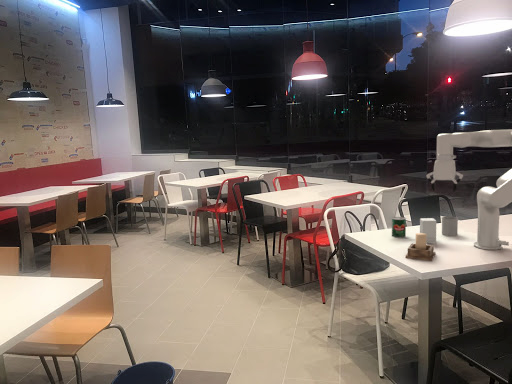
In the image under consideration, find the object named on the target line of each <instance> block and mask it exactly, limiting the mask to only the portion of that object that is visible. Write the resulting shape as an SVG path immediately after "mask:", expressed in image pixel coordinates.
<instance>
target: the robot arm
mask: <svg viewBox="0 0 512 384" xmlns="http://www.w3.org/2000/svg"><path fill="white" fill-rule="evenodd" d="M467 147H479V148H500V147H503V148H504V147H506V148H507V147H512V129H510V128H509V129H491V130H490V129H489V130H480V131H468V132H467V131H465V132H463V131H462V132H453V133H439V134H438V135H437V136H436V160H435V161H434V165H433V171H432V172H429V173H428V174H426V178H427V180H428V182H430V183H431V190H432V192H435V191H436V181H452V182H453V187H452V188H453V190H452V191H453V192H456V191H457V190H458V189H457V188H458V183H460V181H462V179H463V178H464V174H461V173H460V172H458V171H456V170H457V169H456V161H455V160H454V159H456V158H457V155H454V148H467ZM431 176H432V177H433V179H432V178H431ZM456 176H458V179H456ZM495 184H496V187H494V186H489V185H488V186H483V187H481V188H480V189H479V190H478V192H477V194H476V203H477V237H476V241H475V242H473V246H474V247H475V248H477V249H481V250H482V249H483V250H489V251H490V250H491V251H493V250H501V249H502V247H503V246H509V245H510V242H509V241H506V240H501V239H500V237H499V236H500V235H499V234H500V232H499V229H500V209H501V208H504V207H506V206H508V205H509V204H510V203H512V168H511V169H509V170H508V171H506V172H505V173H504V174H503V175H500V177H499V178H498V179H497V180H496V183H495Z"/></svg>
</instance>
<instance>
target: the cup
mask: <svg viewBox="0 0 512 384" xmlns="http://www.w3.org/2000/svg"><path fill="white" fill-rule="evenodd" d="M458 219H459V218H458V217H456V216H442V217H441V235H442V236H446V237H457V236H458V221H459V220H458Z"/></svg>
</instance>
